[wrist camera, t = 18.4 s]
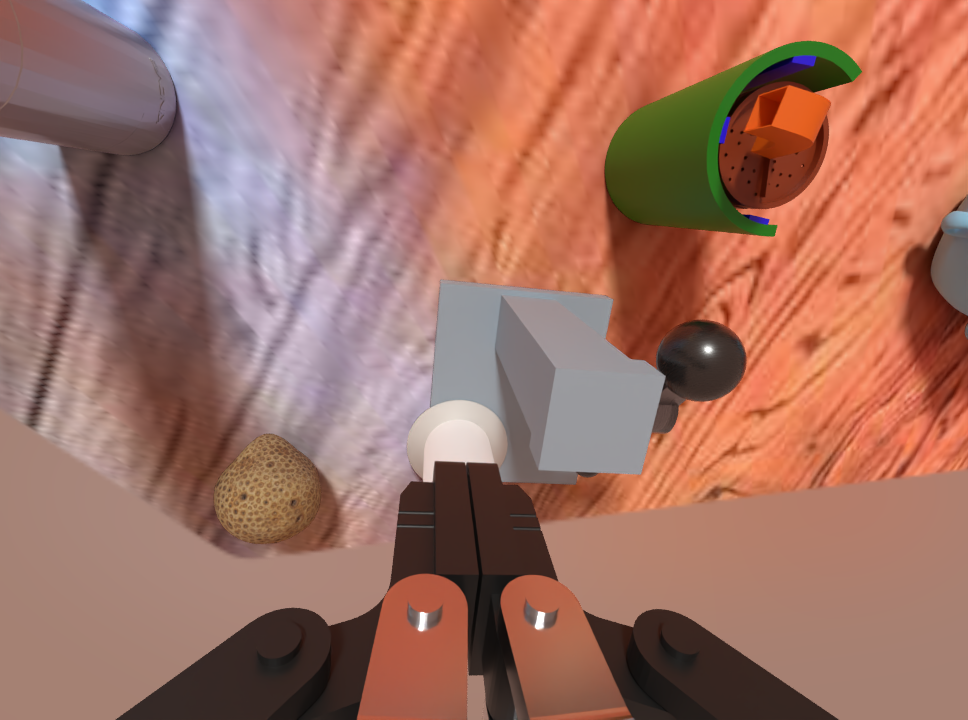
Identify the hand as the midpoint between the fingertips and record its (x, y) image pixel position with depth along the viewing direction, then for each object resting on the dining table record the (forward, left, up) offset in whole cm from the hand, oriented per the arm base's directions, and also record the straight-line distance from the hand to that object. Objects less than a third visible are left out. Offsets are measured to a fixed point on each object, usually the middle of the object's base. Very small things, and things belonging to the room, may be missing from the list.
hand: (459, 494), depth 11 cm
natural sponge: (-14, -20, -33) cm, 41 cm away
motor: (+18, +12, -33) cm, 40 cm away
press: (+7, -10, -33) cm, 35 cm away
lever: (+14, -5, -20) cm, 25 cm away
